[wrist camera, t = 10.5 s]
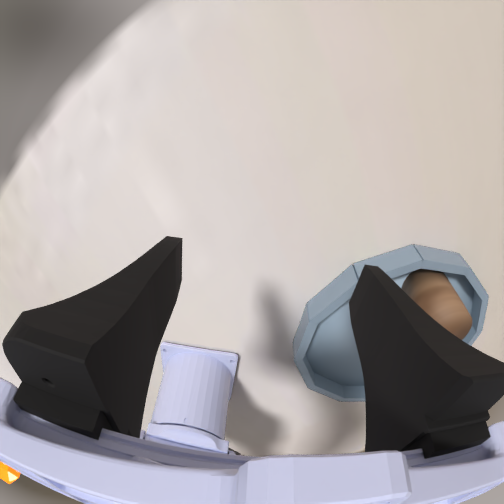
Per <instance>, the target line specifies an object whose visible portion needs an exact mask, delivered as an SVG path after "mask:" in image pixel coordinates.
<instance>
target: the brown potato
mask: <svg viewBox="0 0 504 504" xmlns="http://www.w3.org/2000/svg"><path fill="white" fill-rule="evenodd" d="M402 290H403V291H404V292H405V293H406V294H407V295H408V296H409V297H410V298H411V299H412V300H413V301H414V302H416V303H417V304H418V305H419V306H420V307H421V308H422V309H423V310H424V311H425V312H426V313H427V314H428V315H430V316H431V317H432V318H433V319H434V320H435V321H437V322H438V323H439V324H440V325H442V326H443V327H444V328H445V329H447V330H448V331H449V332H451V333H452V334H454V335H455V336H456V337H458V338H459V339H461V340H463V339H464V338H465V337H466V335H467V334H468V333H469V331H470V329H471V326H472V317H471V315H470V314H469V312H468V310H467V309H466V307H465V305H464V304H463V302H462V300H461V299H460V297H459V295H458V294H457V292H456V291H455V289H454V287H453V286H452V284H451V283H450V281H449V280H448V278H447V277H446V275H445V274H444V272H441V271H435V270H429V269H422V268H421V269H418V270H415V271H412V272H411V273H410V274H409V275H408V276H407V277H406V279H405V280H404V282H403V285H402Z"/></svg>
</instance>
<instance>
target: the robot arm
mask: <svg viewBox="0 0 504 504" xmlns="http://www.w3.org/2000/svg"><path fill="white" fill-rule="evenodd" d="M181 281H182V238H176V237H169V236H167V237H165V238H164V239H163V240H161V241H160V242H159V243H157V244H156V245H155V246H154V247H152V248H151V249H150V250H149V251H147V252H146V253H145V254H144V255H142V256H141V257H140V258H138V259H137V260H136V261H134V262H133V263H132V264H130V265H129V266H127V267H126V268H124V269H123V270H121V271H120V272H119V273H117V274H115V275H114V276H112V277H111V278H109V279H107V280H105V281H103V282H102V283H100V284H98V285H96V286H94V287H92V288H90V289H88V290H86V291H84V292H81V293H79V294H77V295H75V296H72V297H70V298H67V299H65V300H62V301H59V302H56V303H53V304H50V305H47V306H44V307H40V308H36V309H32V310H28V311H24V312H22V313H21V315H20V316H19V317H18V319H17V320H16V322H15V323H14V325H13V326H12V328H11V329H10V331H9V332H8V334H7V335H6V337H5V338H4V340H3V349H4V353H5V355H6V357H7V359H8V361H9V362H10V364H11V365H12V367H13V369H14V370H15V372H16V373H17V375H18V376H19V378H20V379H21V381H22V383H21V384H20V386H19V388H17V387H16V386H14V385H13V384H12V383H10V382H8V381H6V380H4V379H2V378H0V461H1V462H2V463H4V464H6V465H8V466H9V467H11V468H13V469H14V470H16V471H18V472H20V473H22V474H23V475H25V476H27V477H29V478H31V479H33V480H35V481H37V482H39V483H41V484H43V485H44V486H47V487H49V488H51V489H53V490H55V491H57V492H59V493H62V494H64V495H66V496H68V497H70V498H73V499H75V500H78V501H80V502H82V503H85V504H459V503H461V502H464V501H466V500H468V499H471V498H473V497H476V496H478V495H480V494H482V493H485V492H487V491H489V490H490V489H492V488H494V487H495V486H497V485H499V484H501V483H502V482H504V421H501V422H498V423H495V424H492V425H491V426H489V427H487V424H486V421H487V420H488V419H489V418H490V416H489V413H488V410H489V409H490V408H491V407H492V406H493V405H494V404H495V403H496V402H497V401H498V400H499V399H500V398H501V397H502V396H503V395H504V363H503V362H501V361H499V360H497V359H495V358H493V357H490V356H488V355H486V354H484V353H482V352H481V351H479V350H477V349H475V348H474V347H472V346H470V345H469V344H467V343H465V342H464V341H462V340H461V339H459V338H458V337H456V336H455V335H454V334H452V333H451V332H449V331H448V330H447V329H445V328H444V327H443V326H442V325H440V324H439V323H438V322H437V321H435V320H434V319H433V318H432V317H431V316H430V315H428V314H427V313H426V312H425V311H424V310H423V309H422V308H421V307H420V306H419V305H418V304H417V303H416V302H414V301H413V300H412V299H411V298H410V297H409V296H408V295H407V294H406V293H405V292H404V291H403V290H402V289H401V288H400V287H399V286H398V285H397V284H396V283H395V282H394V281H393V280H392V279H391V278H390V277H389V276H388V275H387V274H386V273H385V272H384V271H383V270H382V269H381V268H379V267H378V266H372V265H364V267H363V270H362V272H361V275H360V277H359V280H358V282H357V284H356V287H355V289H354V292H353V294H352V296H351V299H350V301H349V310H350V319H351V326H352V330H353V334H354V338H355V342H356V346H357V350H358V354H359V359H360V363H361V367H362V372H363V378H364V389H365V402H366V444H365V452H363V453H348V454H324V455H293V454H292V455H269V456H265V457H253V456H242V455H236V454H235V452H233V451H230V450H228V446H229V441H226V440H224V438H225V428H226V419H227V409H228V400H230V399H231V394H232V388H233V383H234V378H235V372H236V367H237V361H238V355H237V354H236V353H230V352H223V351H216V350H209V349H202V348H196V347H190V346H184V345H178V344H173V343H167V342H162V343H161V346H160V347H161V356H162V364H163V372H164V374H163V377H162V381H161V385H160V388H159V392H158V396H157V400H156V404H155V408H154V411H153V415H152V419H151V423H149V425H148V429H147V433H146V434H145V431H144V430H141V425H142V419H143V413H144V408H145V402H146V397H147V392H148V387H149V382H150V378H151V374H152V369H153V365H154V361H155V357H156V354H157V351H158V348H159V345H160V342H161V339H162V337H163V334H164V332H165V329H166V327H167V324H168V322H169V319H170V316H171V314H172V311H173V309H174V306H175V304H176V301H177V297H178V293H179V289H180V285H181Z"/></svg>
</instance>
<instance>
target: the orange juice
mask: <svg viewBox="0 0 504 504" xmlns="http://www.w3.org/2000/svg"><path fill="white" fill-rule="evenodd" d="M19 475H20V472H18V471H16V470H14V469H13V468H11V467H9V466H8V465H6V464H4V463H2V462H0V478H1V479H2V480H4V481H6V482H7V483H9V484H10V483H12V482H13V481H15V480H16V479H18V478H19Z"/></svg>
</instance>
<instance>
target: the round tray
mask: <svg viewBox="0 0 504 504" xmlns="http://www.w3.org/2000/svg"><path fill="white" fill-rule="evenodd" d="M353 264H354V266H353V265H350V266H349V267H348V268H347V269H346V270H345V271H344V272H343V273H341V274H340V275H339V276H338V277H337V278H336V279H335V280H333V281H332V282H331V283H330V284H329V285H328V286H326V287H325V288H324V289H323V290H322V291H321V292H319V293H318V294H317V295H316V296H315V297H313V298H312V299H311V300H310V301H309V302H307V304H306V307H305V310H304V313H303V315H302V318H301V321H300V324H299V327H298V330H297V332H296V335H295V338H294V341H293V352H294V362H295V364H296V366H297V368H298V370H299V372H300V374H301V376H302V377H303V379H304V381H305V383H306V385H307V387H308V388H309V389H311V390H313V391H316V392H318V393H321V394H323V395H325V396H328V397H330V398H333V399H335V400H338V401H341V402H356V401H365V389H364V378H363V372H362V367H361V363H360V359H359V354H358V350H357V346H356V342H355V338H354V334H353V330H352V326H351V319H350V310H349V301H350V299H351V296H352V294H353V292H354V289H355V287H356V284H357V282H358V280H359V277H360V275H361V272H362V270H363V267H364V265H372V266H378V267H379V268H381V269H382V270H383V271H384V272H385V273H386V274H387V275H388V276H389V277H390V278H391V279H392V280H393V281H394V282H395V283H396V284H397V285H398V286H399V287H400V288H401V289H402V285H403V282H404V280H405V279H406V277H407V276H408V275H409V274H410V273H411V272H412V271H415V270H418V269H421V268H422V269H429V270H435V271H441V272H444V274H445V275H446V277H447V278H448V280H449V281H450V283H451V284H452V286H453V287H454V289H455V291H456V292H457V294H458V295H459V297H460V299H461V300H462V302H463V304H464V305H465V307H466V309H467V310H468V312H469V314H470V315H471V317H472V326H471V329H470V331H469V333H468V334H467V335H466V337H465V338H464V339H463V340H462V341H464V342H465V343H467V344H469V345H470V346H471V345H472V344H473V343H474V341H475V340H476V339H477V337H478V336H479V335H480V333H481V331H482V329H483V324H484V319H485V314H486V309H487V304H488V298H489V297H488V294H487V293H486V291H485V289H484V288H483V286H482V285H481V283H480V281H479V280H478V278H477V277H476V275H475V274H474V272H473V271H472V269H471V268H470V267H469V265H468V264H467V263H466V261H465V260H464V259H463V257H462V256H461V255H460V254H459V253H455V252H450V251H445V250H440V249H435V248H430V247H425V246H420V245H415V244H414V245H409V246H406V247H403V248H400V249H397V250H394V251H391V252H388V253H385V254H381V255H378V256H375V257H372V258H369V259H366V260H363V261H360V262H356V263H353Z"/></svg>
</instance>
